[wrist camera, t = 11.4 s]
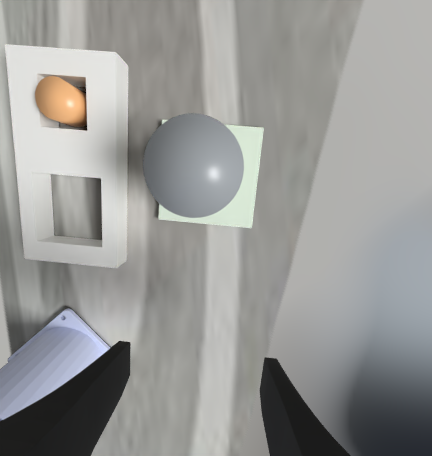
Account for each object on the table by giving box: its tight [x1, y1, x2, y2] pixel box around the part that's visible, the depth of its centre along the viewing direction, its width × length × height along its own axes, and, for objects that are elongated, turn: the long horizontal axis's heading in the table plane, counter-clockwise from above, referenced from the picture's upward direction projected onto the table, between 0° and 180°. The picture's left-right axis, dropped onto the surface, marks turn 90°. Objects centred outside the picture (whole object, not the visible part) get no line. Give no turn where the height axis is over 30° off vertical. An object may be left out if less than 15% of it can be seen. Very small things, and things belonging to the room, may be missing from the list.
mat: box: [159, 120, 264, 228], centre depth 19 cm, size 8×8×1 cm
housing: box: [5, 44, 128, 268], centre depth 19 cm, size 16×8×2 cm, turn 175°
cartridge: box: [143, 113, 244, 218], centre depth 15 cm, size 5×5×8 cm
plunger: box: [35, 76, 87, 127], centre depth 17 cm, size 3×3×2 cm
